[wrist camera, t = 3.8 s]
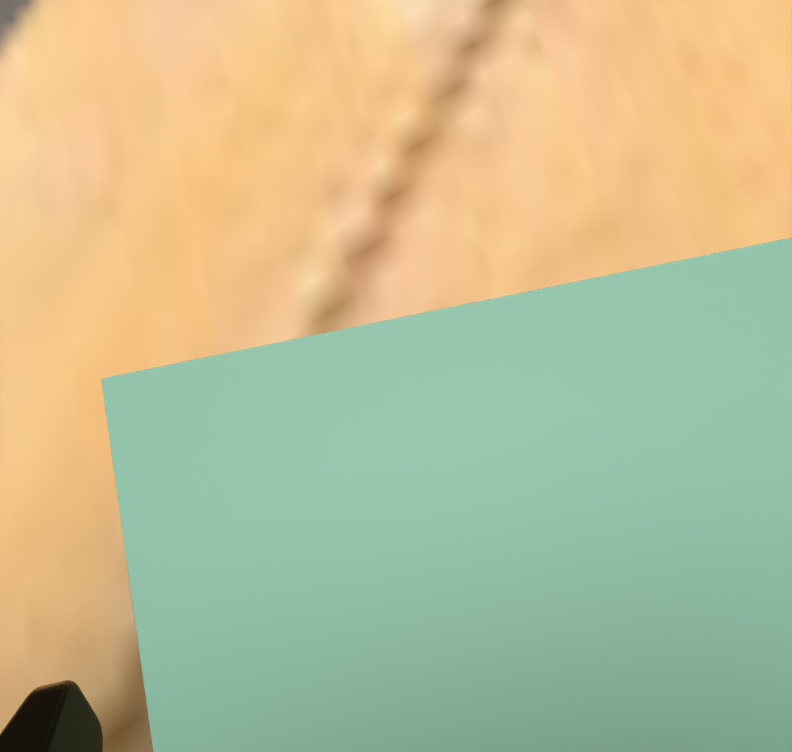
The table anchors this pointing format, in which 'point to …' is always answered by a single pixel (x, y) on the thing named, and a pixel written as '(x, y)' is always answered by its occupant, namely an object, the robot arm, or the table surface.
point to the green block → (476, 524)
